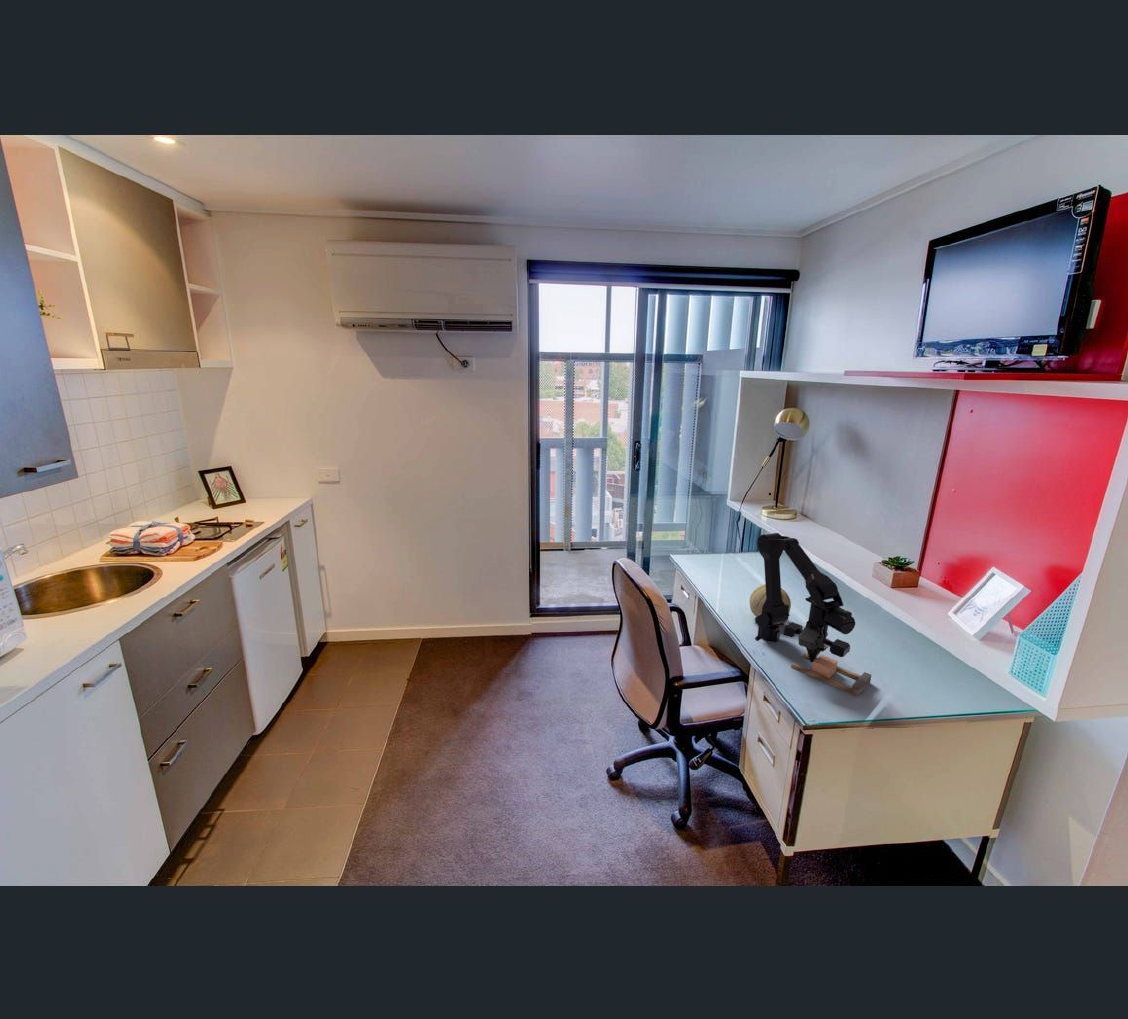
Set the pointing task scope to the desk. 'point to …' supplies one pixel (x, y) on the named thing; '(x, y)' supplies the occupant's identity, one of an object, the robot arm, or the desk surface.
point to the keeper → (824, 666)
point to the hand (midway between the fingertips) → (811, 662)
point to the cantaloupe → (764, 599)
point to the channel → (856, 687)
